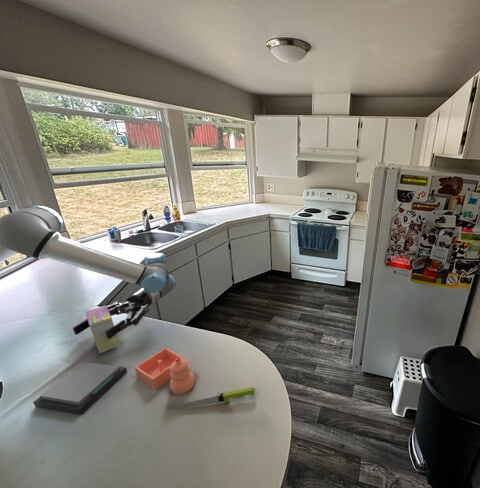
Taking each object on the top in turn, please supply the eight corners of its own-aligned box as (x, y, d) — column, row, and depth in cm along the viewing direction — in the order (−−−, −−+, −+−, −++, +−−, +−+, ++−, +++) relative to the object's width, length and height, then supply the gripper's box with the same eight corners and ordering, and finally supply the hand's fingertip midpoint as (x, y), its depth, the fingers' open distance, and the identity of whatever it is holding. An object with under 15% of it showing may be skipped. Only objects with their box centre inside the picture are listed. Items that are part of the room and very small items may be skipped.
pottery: (137, 377, 77) (130, 352, 74) (167, 357, 85) (162, 333, 82) (174, 403, 70) (168, 377, 66) (204, 378, 78) (199, 353, 74)
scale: (35, 407, 67) (31, 398, 66) (88, 366, 80) (85, 358, 79) (81, 414, 66) (77, 406, 65) (127, 372, 79) (124, 364, 78)
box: (94, 339, 90) (85, 311, 86) (114, 331, 94) (106, 304, 90) (98, 354, 83) (89, 325, 79) (120, 345, 87) (112, 317, 83)
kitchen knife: (171, 415, 68) (169, 407, 67) (173, 410, 69) (170, 403, 68) (255, 397, 72) (254, 390, 71) (255, 393, 73) (254, 386, 72)
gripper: (172, 309, 103) (126, 346, 83) (119, 303, 106) (62, 338, 85) (169, 293, 101) (120, 328, 80) (115, 287, 103) (55, 319, 83)
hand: (91, 333), depth 83 cm, fingers closed on box, 11 cm apart
